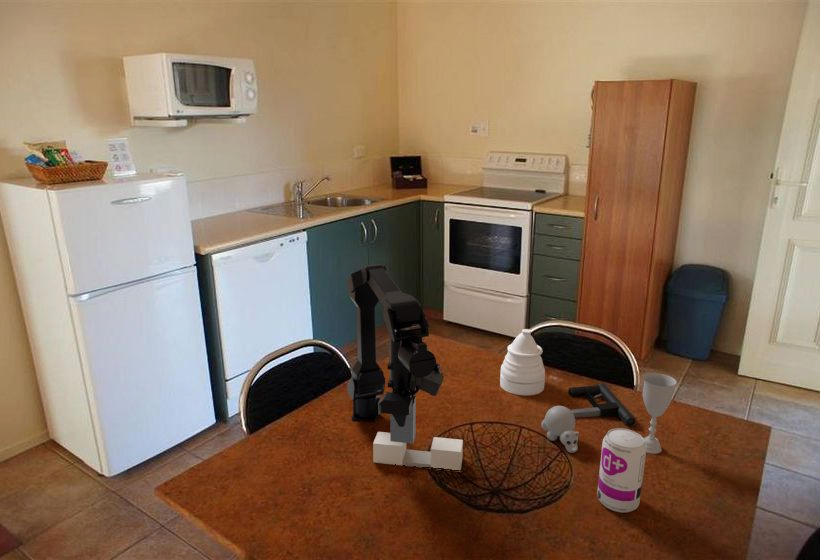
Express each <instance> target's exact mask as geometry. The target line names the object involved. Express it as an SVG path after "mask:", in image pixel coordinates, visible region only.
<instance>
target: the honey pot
mask: <svg viewBox="0 0 820 560" xmlns="http://www.w3.org/2000/svg"><path fill="white" fill-rule="evenodd" d="M531 333H532V330H531V329H528V328H524V329H521V332H520V333H519V334H518V335H516V337H515V339H514V340H513V341H512V343H511V344H509V345H507V353H506V355H504V360H503V361H502V364H501V365H500V378H499V382H500V383H499V386H500V388H501V389H502V390H504V391H505V392H507V393H511V394H513V395H518V396H535V395H538V394H540V393H542V392H543V391H544V389H545V383H546V369H545V366H544V363H543V358H542V357H541V355H543V348H542V347H541V346H540V345H538V344H537V343H536V341H535V339H534V337H533V335H531Z"/></svg>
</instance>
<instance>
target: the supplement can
mask: <svg viewBox="0 0 820 560" xmlns="http://www.w3.org/2000/svg"><path fill="white" fill-rule="evenodd" d="M643 438H644V437H643V436H642V435H641V434H640V433H637V431H634V430H632V429H628V428H623V427H621V428H620V427H619V428H618V427H617V428H611V429H609V430H608V431H607V433H606V434H605V436H604V438H603V439H602V445H601V453H600V454H601V455H600V456H601V457H600V463H599V472H598V483H597V492H596V495H597V499H598V500H599V502H600V504H602V505H603V506H604V507H605V508H607V509H609V510H610V511H613V512H616V513H630V512H632V511H635V510H636V509H638V508H639V505H640V501H641V494H642V487H643V478H644V471H645V464H646V457H647V456H646V455H647V452H646V450H647V448H646V445H645V443H644V439H643Z"/></svg>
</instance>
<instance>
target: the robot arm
mask: <svg viewBox="0 0 820 560" xmlns="http://www.w3.org/2000/svg"><path fill="white" fill-rule="evenodd" d="M346 288H347V291H348V293H349V294H348V295H349V298H350V300H352V302H353V303H354V305H355V308H356V309H355V310H356V311H355V312H356V336H357V337H356V342H357V361H356V362H355V364H354V365H353V367H352V369H351V378H350V379H349V381H348V383H347V385H346V388H347V394H348V395H349V396H350V399H351V400H352V415H351V418H350V419H351V420H353V421H363V422H372V423H373V422H376V420H377V418H378V417H379V416H380V414H385V415H386V414H387V415H390V414H392V415H393V417H394V418H395V420H396V422H397V424H398V426H399V427H404V424H405V419H406V416H407V415H409V414H410V411H411V409H412V407H413V404H414V402H415V400H412V398H411V396H416V394H417V393H418V392H419V391H422V392H425V393H427V394H429V395H430V396H432V397H437V395H438V393H439V390H440V388H441V386H442V383H443V381H444V375H443V374H444V372H442V371H441V365H440V364H439V363H438V362H437V358H436V356H435V355H434V353H433V352H432V351H431V350H430V349H429V348H428V345H427V343H426V342H425V341H423V338H427V337H429V336H430V333H429V328H430V326H429V325H430V324H429V322H428V320H427V317H426V314H425V310H424V308H423V306H422V304H421V303H420V302H419V301H418V300H417V298H415V297H414V296H413V295H412V294H408V293H405V292H403V291H401V289H400V288H399V287H398V285H397V284H396V282H395V281H394V279H392V277H391V276H390V275H389V273H388V272H387V268H386V266H385V265H384V264H381V263H379V264H370V265H365V266H362V267H361V269H359V270H356V271H355V272H352V273H350V275H349V276H348V278H347V279H346ZM379 302H380V303H381V305H382V306H383V311H382V313H383V314H382V317H383V321H384V323H385V328H386V329H387V332H388V335H389V361H388V364H387V370H388V371H389V379H388V381H387V388H390V389H391V390H392V391H387V392H386V393H384V392H385V386H386V380H387V379H386V377H385V375H384V371H383V369H382V368H381V366H380V365H379V363H378V362H377V340H376V339H377V336H376V335H377V333H376V307H377V305H378V304H379ZM414 327H418V328H414ZM410 328H411V329H410ZM379 396H381V397H379Z"/></svg>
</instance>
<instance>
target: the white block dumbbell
mask: <svg viewBox="0 0 820 560" xmlns="http://www.w3.org/2000/svg"><path fill="white" fill-rule="evenodd" d="M463 444H464V440H463V439H456V438H447V437H437V436H436V437H435V436H434V437H433V439H432V443H431V446H430V451H425V450H416V449H415V450H414V449H408V448H407V443H402V442H393V441H390V432H386V431H385V432H384V431H377V433H376V436H375V438H374V440H373V443H372V446H373V447H372V452H373V454H372V455H373V456H372V457H373V463H375V464H376V463H377V464H385V465H395V464H396V465H395V466H403V465H405V466H404V467H413V466H416V467H415V468H422V467H433V468H444V469H452V470H461V471H462V463H463V451H464V450H463V448H464V445H463Z"/></svg>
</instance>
